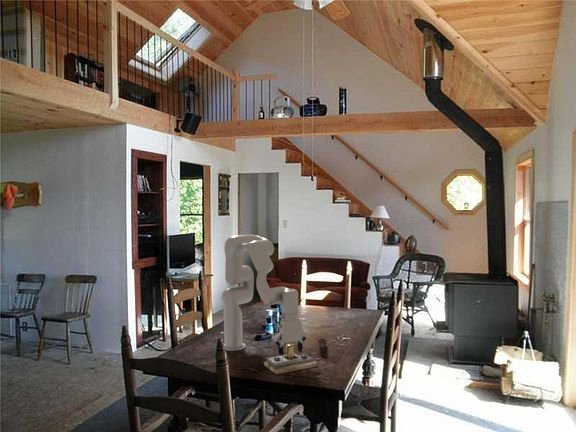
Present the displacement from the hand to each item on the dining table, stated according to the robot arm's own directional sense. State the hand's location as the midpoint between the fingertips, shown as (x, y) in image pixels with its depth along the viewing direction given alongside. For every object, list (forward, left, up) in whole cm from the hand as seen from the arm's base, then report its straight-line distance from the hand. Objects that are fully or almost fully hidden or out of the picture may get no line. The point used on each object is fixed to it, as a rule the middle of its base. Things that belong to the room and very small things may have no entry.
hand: (290, 353), depth 196 cm
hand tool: (-10, +24, -6) cm, 27 cm away
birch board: (0, 0, -6) cm, 6 cm away
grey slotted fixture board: (0, 0, -4) cm, 4 cm away
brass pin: (0, 0, -4) cm, 4 cm away
